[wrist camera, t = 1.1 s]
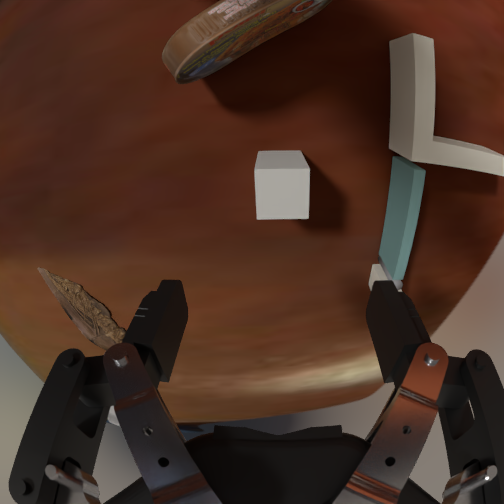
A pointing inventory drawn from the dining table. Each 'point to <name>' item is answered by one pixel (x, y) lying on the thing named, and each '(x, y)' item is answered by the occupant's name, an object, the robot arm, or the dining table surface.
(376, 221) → the dining table surface
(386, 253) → the teal long flat block
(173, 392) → the dining table surface
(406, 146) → the grey angled piece
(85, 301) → the wooden fragment
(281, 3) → the tin
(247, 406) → the dining table surface
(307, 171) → the block
